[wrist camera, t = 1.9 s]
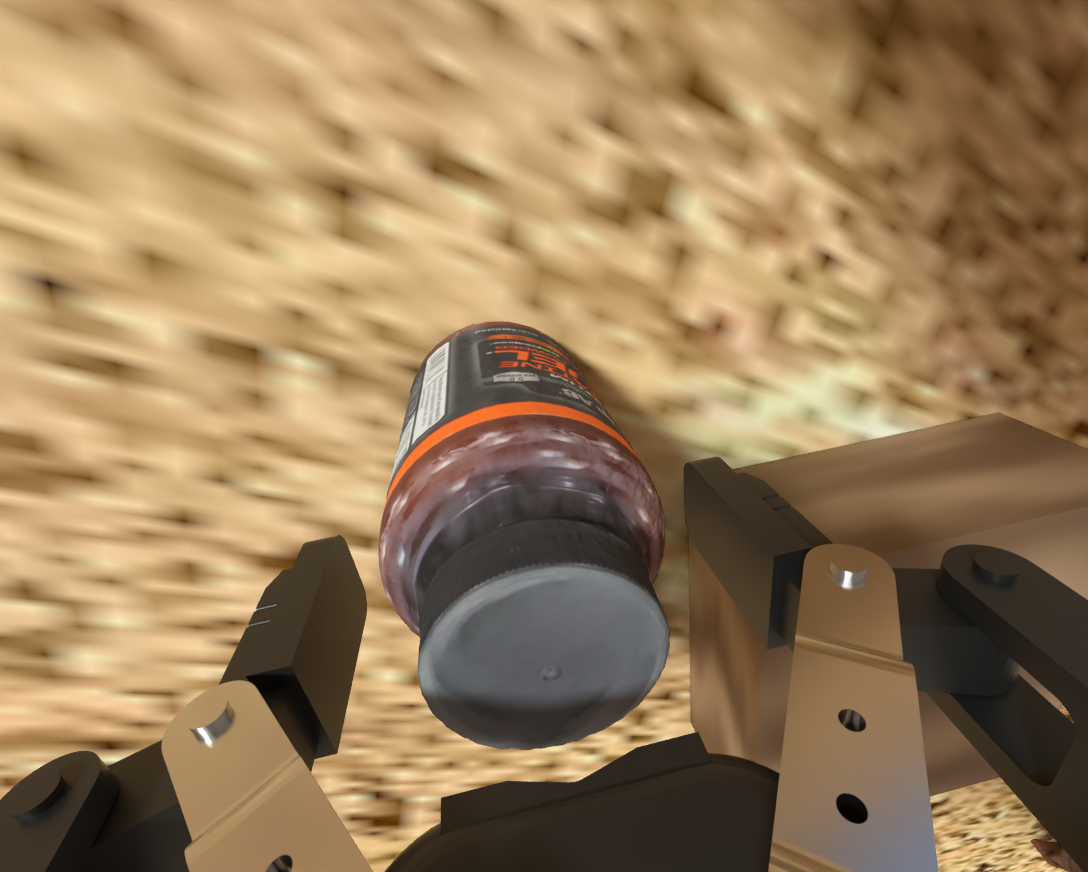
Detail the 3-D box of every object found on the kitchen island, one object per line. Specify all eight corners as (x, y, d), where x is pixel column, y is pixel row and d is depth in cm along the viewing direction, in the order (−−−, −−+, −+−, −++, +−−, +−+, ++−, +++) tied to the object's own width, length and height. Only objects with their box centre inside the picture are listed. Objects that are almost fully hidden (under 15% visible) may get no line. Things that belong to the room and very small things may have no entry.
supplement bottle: (608, 354, 18) (812, 573, 8) (538, 491, 20) (628, 806, 10) (444, 285, 16) (433, 456, 6) (386, 445, 18) (303, 775, 8)
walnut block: (688, 478, 21) (770, 580, 15) (999, 412, 22) (1175, 485, 16) (690, 721, 28) (746, 847, 23) (922, 662, 29) (1028, 769, 24)
